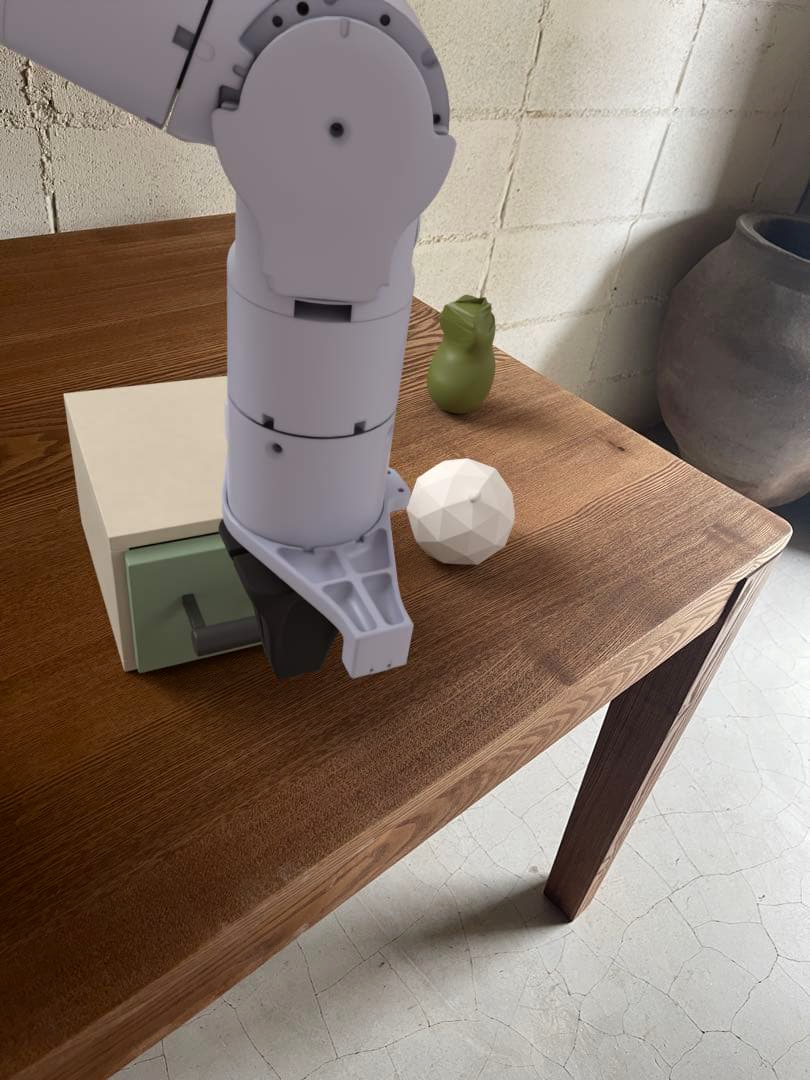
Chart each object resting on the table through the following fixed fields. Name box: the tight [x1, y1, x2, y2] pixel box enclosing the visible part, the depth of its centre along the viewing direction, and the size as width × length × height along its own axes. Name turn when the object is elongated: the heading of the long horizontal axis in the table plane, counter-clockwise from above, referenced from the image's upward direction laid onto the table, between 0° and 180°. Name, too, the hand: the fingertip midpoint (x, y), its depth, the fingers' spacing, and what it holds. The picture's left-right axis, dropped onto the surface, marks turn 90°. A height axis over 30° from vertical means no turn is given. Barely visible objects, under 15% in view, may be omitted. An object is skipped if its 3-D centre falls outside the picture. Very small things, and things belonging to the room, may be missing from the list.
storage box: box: [63, 375, 227, 672], centre depth 52 cm, size 14×12×10 cm
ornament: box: [405, 457, 516, 566], centre depth 57 cm, size 7×7×8 cm
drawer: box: [124, 532, 262, 674], centre depth 49 cm, size 16×11×8 cm, turn 25°
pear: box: [426, 294, 497, 414], centre depth 71 cm, size 6×5×10 cm
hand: (294, 663), depth 38 cm, fingers closed
